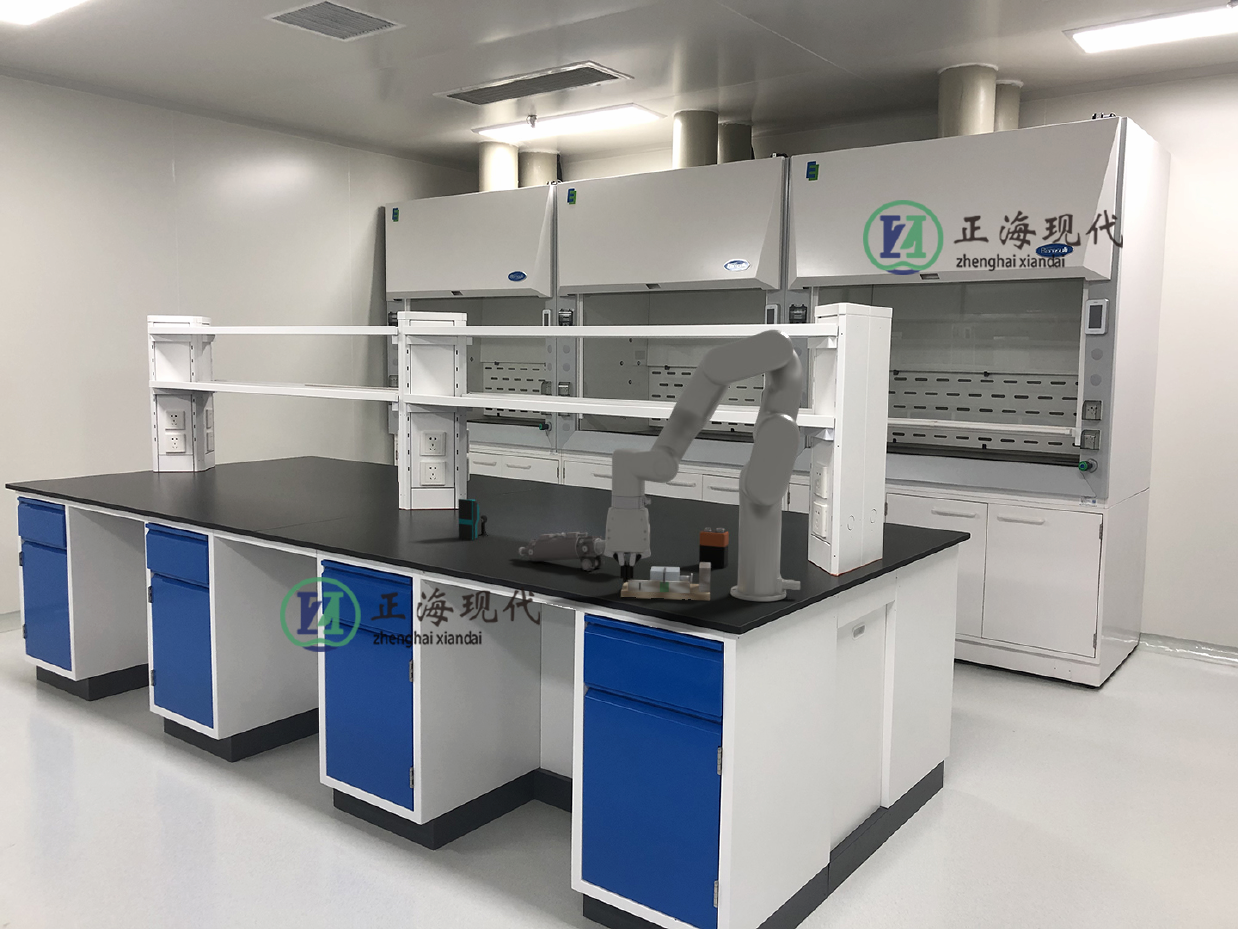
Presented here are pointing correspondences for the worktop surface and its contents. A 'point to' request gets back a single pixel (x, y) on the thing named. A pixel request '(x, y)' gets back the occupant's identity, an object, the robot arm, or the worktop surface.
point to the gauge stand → (671, 587)
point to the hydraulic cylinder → (567, 549)
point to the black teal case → (470, 520)
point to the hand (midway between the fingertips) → (627, 581)
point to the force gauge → (668, 574)
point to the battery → (714, 547)
